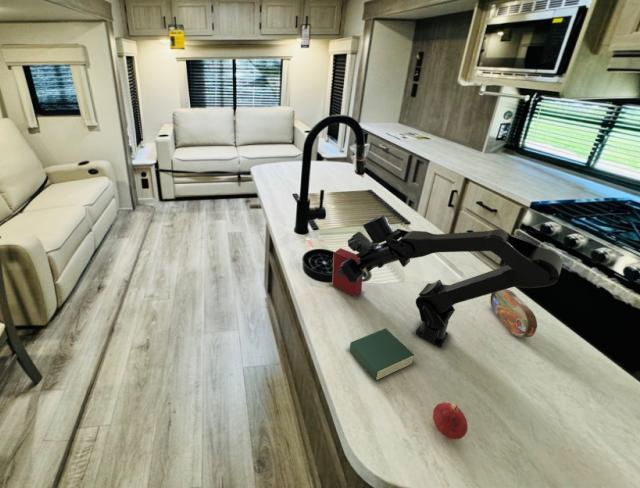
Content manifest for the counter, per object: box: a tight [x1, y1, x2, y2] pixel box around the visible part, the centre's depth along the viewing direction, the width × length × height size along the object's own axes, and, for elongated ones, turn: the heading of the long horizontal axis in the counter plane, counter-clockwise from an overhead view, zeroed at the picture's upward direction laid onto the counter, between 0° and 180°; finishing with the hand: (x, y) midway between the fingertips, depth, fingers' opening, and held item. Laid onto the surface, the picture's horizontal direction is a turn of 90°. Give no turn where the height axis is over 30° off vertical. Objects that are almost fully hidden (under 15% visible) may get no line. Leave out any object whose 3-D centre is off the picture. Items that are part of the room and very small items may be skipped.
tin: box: [489, 289, 538, 338], centre depth 88 cm, size 15×3×8 cm, turn 171°
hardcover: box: [349, 327, 415, 381], centre depth 79 cm, size 12×9×3 cm
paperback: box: [331, 247, 364, 298], centre depth 102 cm, size 9×4×13 cm, turn 42°
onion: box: [432, 402, 469, 440], centre depth 62 cm, size 6×6×8 cm
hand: (344, 267), depth 103 cm, fingers closed on paperback, 8 cm apart
